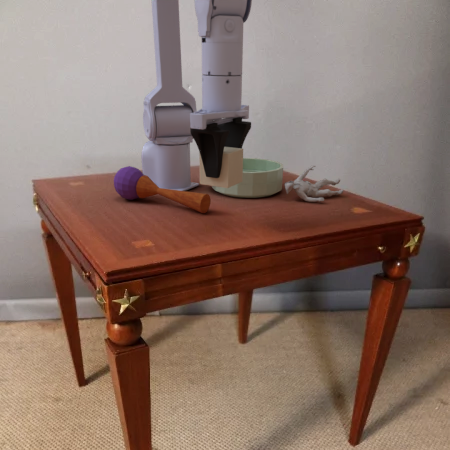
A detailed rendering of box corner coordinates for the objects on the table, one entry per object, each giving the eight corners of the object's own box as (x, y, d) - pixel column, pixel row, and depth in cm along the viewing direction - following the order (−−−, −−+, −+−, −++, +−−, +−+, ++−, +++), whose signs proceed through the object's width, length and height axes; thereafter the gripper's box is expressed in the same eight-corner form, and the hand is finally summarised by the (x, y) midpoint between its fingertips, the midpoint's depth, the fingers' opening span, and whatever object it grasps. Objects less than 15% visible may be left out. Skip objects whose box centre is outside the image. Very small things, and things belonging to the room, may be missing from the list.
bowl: (199, 193, 99) (199, 167, 97) (232, 179, 110) (232, 155, 107) (264, 202, 93) (265, 175, 91) (291, 187, 104) (293, 162, 102)
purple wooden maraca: (194, 194, 82) (104, 170, 90) (196, 226, 86) (110, 200, 94) (214, 180, 86) (125, 159, 94) (215, 212, 90) (130, 188, 98)
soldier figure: (348, 204, 96) (305, 192, 89) (329, 217, 100) (287, 206, 93) (338, 170, 98) (296, 156, 91) (320, 184, 102) (278, 171, 95)
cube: (199, 184, 77) (199, 150, 75) (215, 177, 81) (215, 145, 78) (227, 188, 75) (228, 153, 73) (242, 181, 79) (243, 148, 76)
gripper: (222, 78, 63) (221, 186, 70) (268, 74, 74) (263, 168, 81) (176, 76, 66) (179, 180, 73) (226, 72, 77) (225, 163, 84)
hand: (221, 173), depth 77 cm, fingers closed on cube, 5 cm apart
